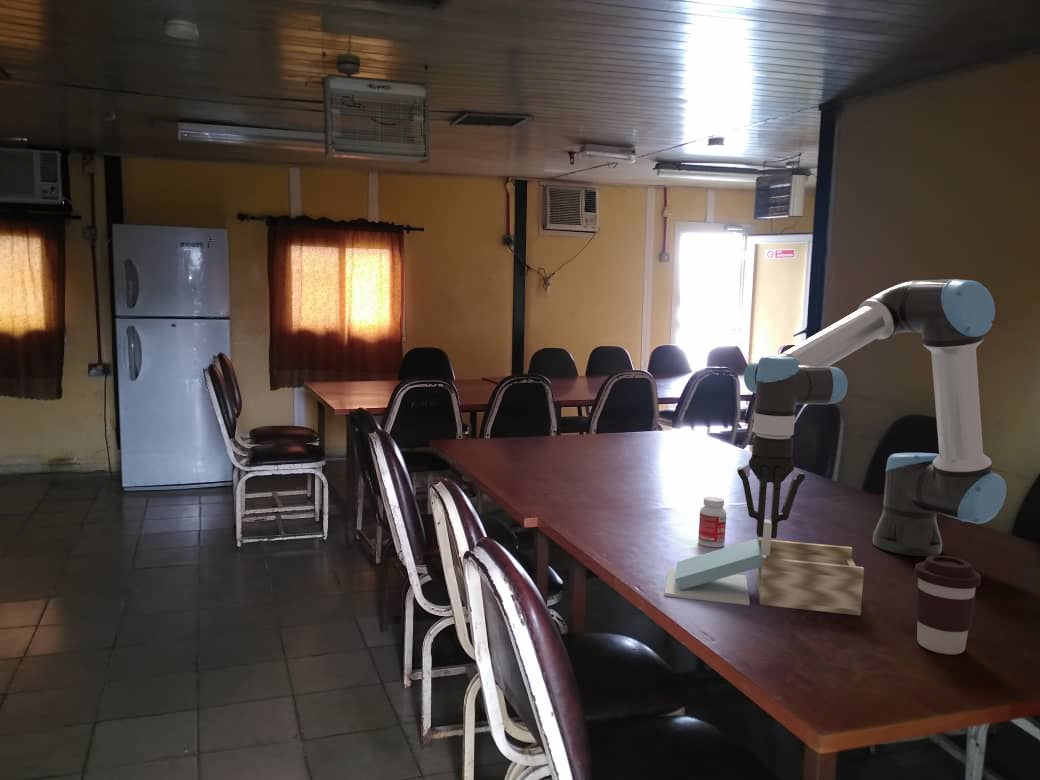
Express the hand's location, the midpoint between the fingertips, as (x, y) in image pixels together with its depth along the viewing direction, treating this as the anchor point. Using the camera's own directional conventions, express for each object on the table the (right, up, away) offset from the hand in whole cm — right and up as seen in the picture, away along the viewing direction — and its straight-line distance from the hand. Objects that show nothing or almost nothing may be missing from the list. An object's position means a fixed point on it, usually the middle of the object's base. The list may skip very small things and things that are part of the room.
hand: (765, 553), depth 163 cm
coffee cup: (+23, -12, -23) cm, 34 cm away
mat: (-11, -7, +3) cm, 14 cm away
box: (+8, -9, -1) cm, 11 cm away
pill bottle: (-3, -5, +33) cm, 34 cm away
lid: (-8, -4, +2) cm, 9 cm away
